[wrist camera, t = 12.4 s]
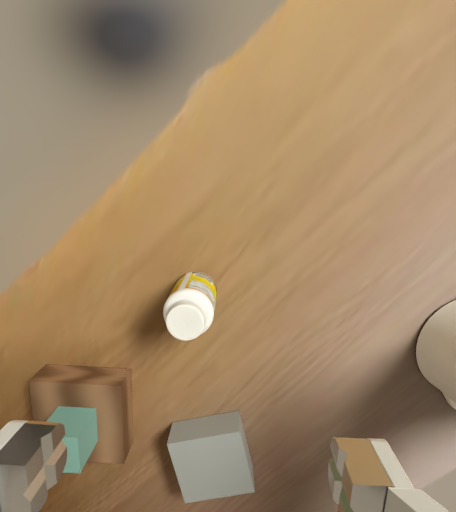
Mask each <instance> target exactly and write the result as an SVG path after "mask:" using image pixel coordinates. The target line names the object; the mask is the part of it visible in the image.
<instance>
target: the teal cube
mask: <svg viewBox="0 0 456 512" xmlns="http://www.w3.org/2000/svg"><path fill="white" fill-rule="evenodd" d="M46 422H54V423H62V424H63V425H64V427H65V436H64V437H63V439H62V440H61V441H62V442H63V443H64V444H65V445H66V447H67V461H66V465H65V468H64V471H63V472H64V473H81V471H82V469H83V467H84V466H85V464H86V462H87V460H88V458H89V456H90V454H91V453H92V451H93V449H94V447H95V445H96V443H97V441H98V434H97V416H96V408H82V407H62V406H58V407H57V408H56V410H55V411H54V412H53V413H52V415H51V416H50V417H49V418H48V420H47V421H46Z"/></svg>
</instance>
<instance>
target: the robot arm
mask: <svg viewBox="0 0 456 512" xmlns="http://www.w3.org/2000/svg"><path fill="white" fill-rule="evenodd" d="M416 359H417V363H418V366H419V369H420V371H421V373H422V374H423V376H424V377H425V378H426V379H427V380H428V381H429V382H430V383H431V384H432V385H434V386H435V387H436V388H438V389H439V390H440V391H441V392H442V393H443V395H444V397H445V399H446V400H447V402H448V403H449V405H450V406H452V407H453V408H454V409H455V410H456V300H454V301H452V302H450V303H448V304H447V305H445V306H443V307H442V308H440V309H439V310H438V311H437V312H435V313H434V314H433V315H432V316H431V317H430V319H429V320H428V321H427V322H426V324H425V325H424V327H423V329H422V330H421V333H420V335H419V338H418V341H417V346H416ZM64 436H65V427H64V425H63V424H62V423H54V422H42V421H24V420H12V421H10V422H8V423H7V424H6V425H5V426H4V427H3V428H2V429H1V430H0V512H39V511H40V510H41V508H42V507H43V505H44V503H45V502H46V500H47V498H48V496H47V490H48V489H50V488H51V487H52V486H54V485H55V484H57V482H58V480H59V479H60V477H61V475H62V474H63V471H64V468H65V465H66V461H67V447H66V445H65V444H64V443H63V442H62V441H61V440H62V439H63V437H64ZM330 450H331V453H332V456H333V457H332V458H331V459H330V460H329V462H328V482H329V487H330V492H331V496H332V499H333V500H334V501H335V502H336V503H337V504H338V512H449V511H448V510H446V509H445V508H444V507H443V506H441V505H440V504H438V503H437V502H436V501H435V500H434V499H432V498H431V497H430V496H428V495H427V494H426V493H425V492H423V491H422V490H421V489H415V488H414V487H413V485H412V483H411V482H410V480H409V478H408V476H407V475H406V473H405V471H404V470H403V468H402V466H401V464H400V463H399V461H398V459H397V458H396V456H395V454H394V452H393V451H392V449H391V447H390V446H389V444H388V442H387V441H386V440H385V439H376V438H367V439H365V438H343V437H332V440H331V445H330Z"/></svg>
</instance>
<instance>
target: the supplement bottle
mask: <svg viewBox="0 0 456 512" xmlns="http://www.w3.org/2000/svg"><path fill="white" fill-rule="evenodd" d="M216 297H217V289H216V285H215V283H214V281H213V280H212V279H211V278H210V277H209V276H208V275H206V274H204V273H201V272H189V273H187V274H185V275H183V276H182V277H181V278H180V279H179V280H178V281H177V283H176V285H175V287H174V288H173V290H172V292H171V294H170V295H169V297H168V299H167V300H166V302H165V305H164V309H163V316H164V320H165V323H166V326H167V329H168V331H169V332H170V334H171V335H172V336H174V337H175V338H177V339H180V340H192V339H194V338H196V337H198V336H199V335H200V334H202V333H204V332H205V331H206V330H207V329H208V328H209V327H210V325H211V323H212V321H213V317H214V310H215V303H216Z"/></svg>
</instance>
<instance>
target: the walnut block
mask: <svg viewBox="0 0 456 512" xmlns="http://www.w3.org/2000/svg"><path fill="white" fill-rule="evenodd" d="M29 388H30V398H31V407H32V417H33V421H42V422H46V421H47V420H48V418H49V417H50V416H51V415H52V413H53V412H54V411H55V410H56V408H57V407H58V406H62V407H82V408H96V416H97V434H98V441H97V443H96V445H95V447H94V449H93V451H92V453H91V454H90V456H89V458H88V460H87V462H97V463H116V464H124V463H125V460H126V458H127V455H128V453H129V450H130V448H131V445H132V443H133V420H132V382H131V369H127V368H107V367H86V366H66V365H46V366H45V367H44V368H42V369H41V370H40V371H39V372H38V373H37V374H36V375H35V376H34V377H33V378H32V379H31V380H30V381H29Z"/></svg>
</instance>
